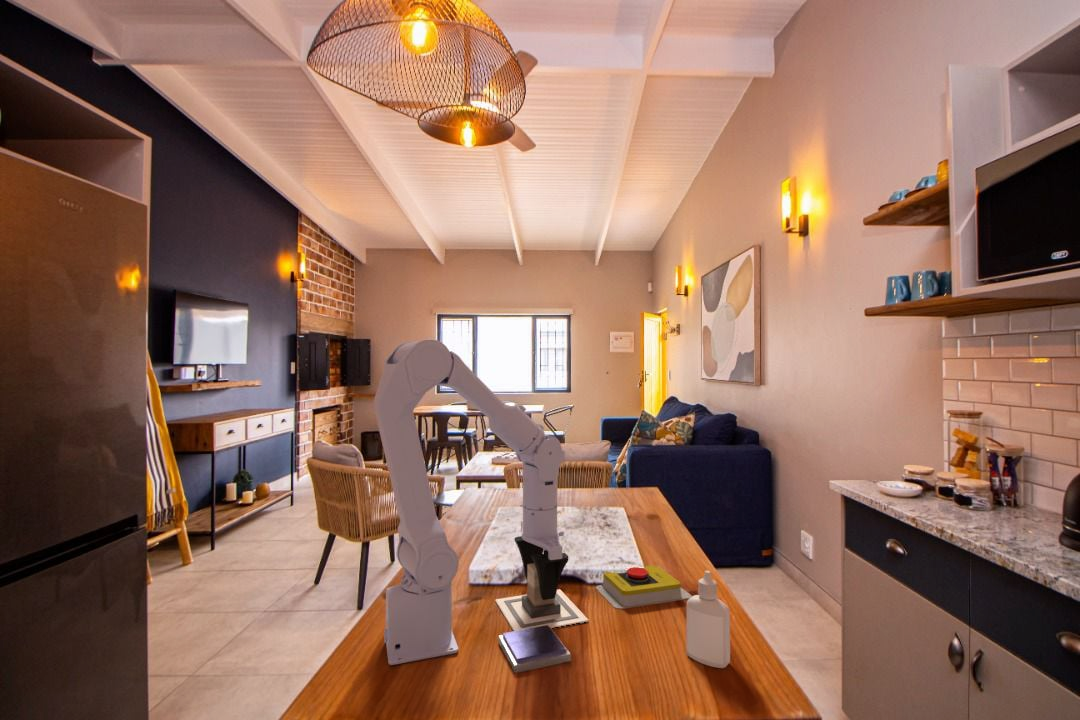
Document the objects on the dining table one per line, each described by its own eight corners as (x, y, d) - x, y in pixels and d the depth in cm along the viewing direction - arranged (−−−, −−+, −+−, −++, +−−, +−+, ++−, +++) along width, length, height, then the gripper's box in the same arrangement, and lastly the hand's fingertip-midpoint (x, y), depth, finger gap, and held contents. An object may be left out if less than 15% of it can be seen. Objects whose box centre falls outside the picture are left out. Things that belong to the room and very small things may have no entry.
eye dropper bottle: (709, 674, 67) (708, 582, 67) (682, 652, 72) (681, 566, 72) (735, 666, 69) (734, 577, 69) (706, 645, 74) (706, 562, 74)
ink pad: (514, 673, 67) (514, 661, 67) (498, 642, 75) (498, 632, 75) (570, 661, 70) (570, 650, 70) (549, 632, 78) (549, 622, 78)
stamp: (531, 618, 81) (531, 574, 81) (521, 604, 86) (521, 563, 86) (560, 613, 83) (560, 570, 83) (549, 600, 88) (549, 559, 88)
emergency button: (593, 565, 94) (665, 556, 98) (593, 589, 94) (666, 579, 98) (615, 586, 85) (694, 575, 89) (615, 612, 85) (694, 600, 89)
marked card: (516, 635, 77) (516, 632, 77) (495, 601, 88) (495, 598, 88) (588, 621, 81) (588, 619, 81) (559, 590, 92) (559, 588, 92)
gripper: (580, 515, 79) (580, 603, 79) (547, 493, 93) (547, 569, 93) (537, 519, 77) (537, 611, 77) (509, 497, 90) (509, 574, 90)
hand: (540, 588), depth 84 cm, fingers open, 7 cm apart
